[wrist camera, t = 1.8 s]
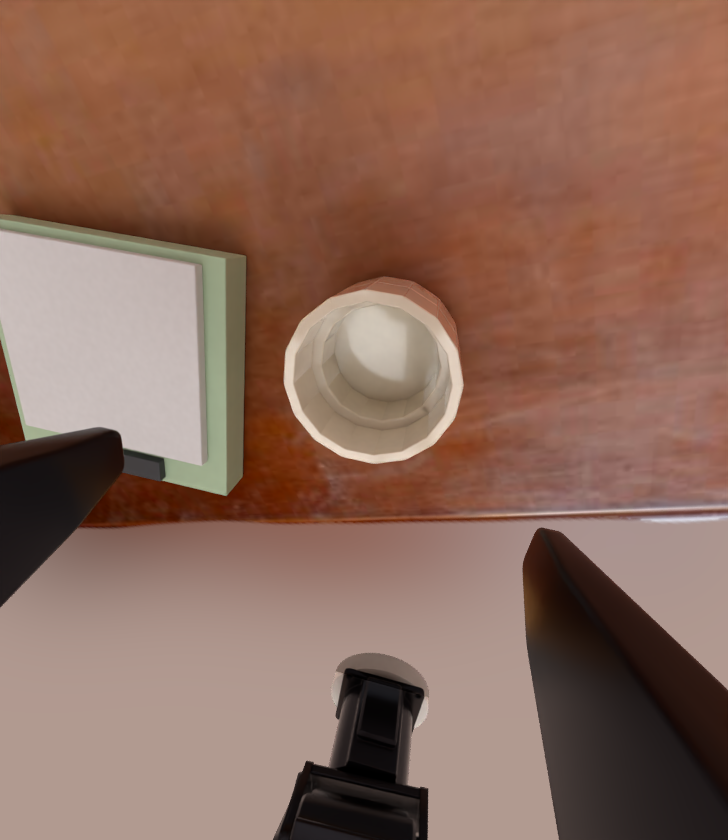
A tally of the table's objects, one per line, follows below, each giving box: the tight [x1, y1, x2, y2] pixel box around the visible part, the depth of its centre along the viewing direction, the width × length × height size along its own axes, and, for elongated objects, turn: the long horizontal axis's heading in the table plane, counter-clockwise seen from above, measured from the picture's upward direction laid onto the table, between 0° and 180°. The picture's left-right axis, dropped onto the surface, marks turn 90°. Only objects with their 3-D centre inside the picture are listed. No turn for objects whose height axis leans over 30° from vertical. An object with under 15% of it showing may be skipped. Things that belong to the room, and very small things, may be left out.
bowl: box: [284, 276, 464, 464], centre depth 17 cm, size 6×6×5 cm
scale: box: [0, 214, 246, 496], centre depth 21 cm, size 12×12×3 cm
